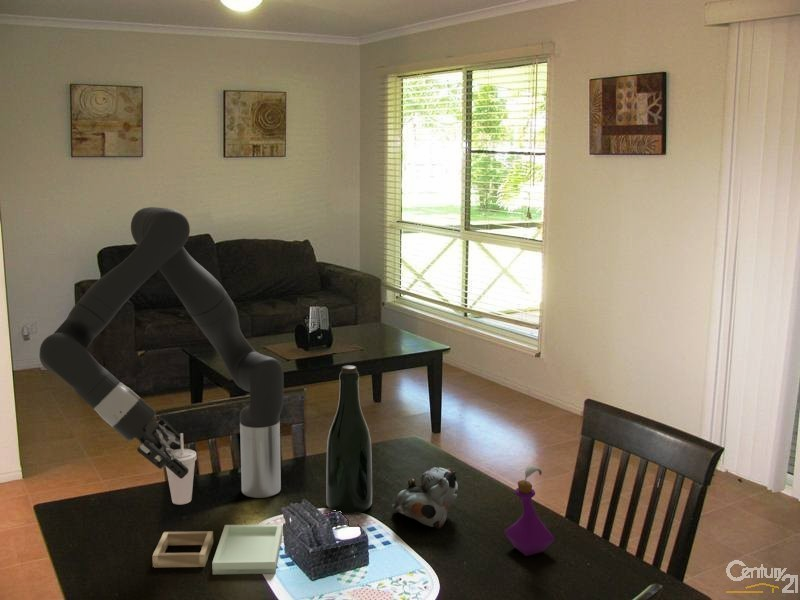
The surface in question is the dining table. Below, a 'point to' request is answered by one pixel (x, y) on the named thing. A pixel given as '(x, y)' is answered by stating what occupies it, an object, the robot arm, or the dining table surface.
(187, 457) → the smoothie
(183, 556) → the collar
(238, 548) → the tray
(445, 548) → the dining table surface
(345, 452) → the green wine bottle
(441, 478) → the lucky cat figurine
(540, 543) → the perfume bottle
